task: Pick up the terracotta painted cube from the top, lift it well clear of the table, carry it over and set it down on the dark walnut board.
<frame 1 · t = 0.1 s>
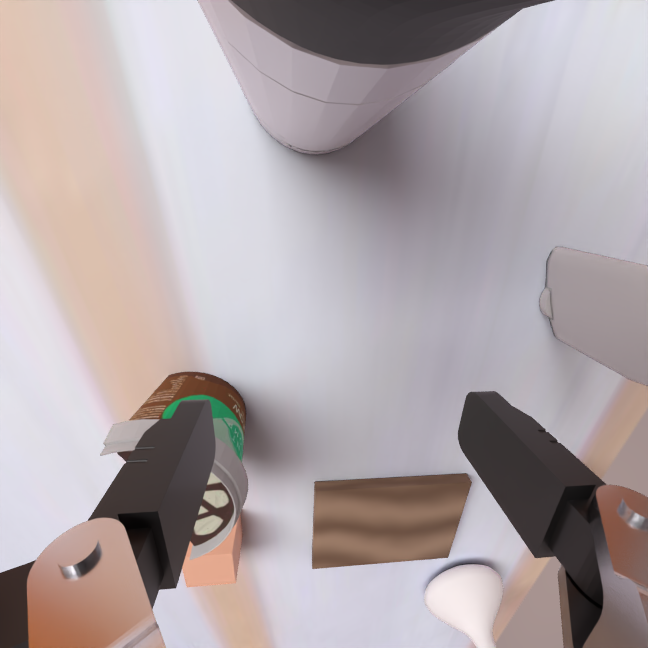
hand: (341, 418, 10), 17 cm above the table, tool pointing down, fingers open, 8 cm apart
walnut board: (385, 518, 39), on the table
terracotta cube: (219, 522, 36), on the table
flower in vase: (453, 574, 46), on the table
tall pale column: (558, 295, 29), on the table
food container: (224, 402, 30), on the table
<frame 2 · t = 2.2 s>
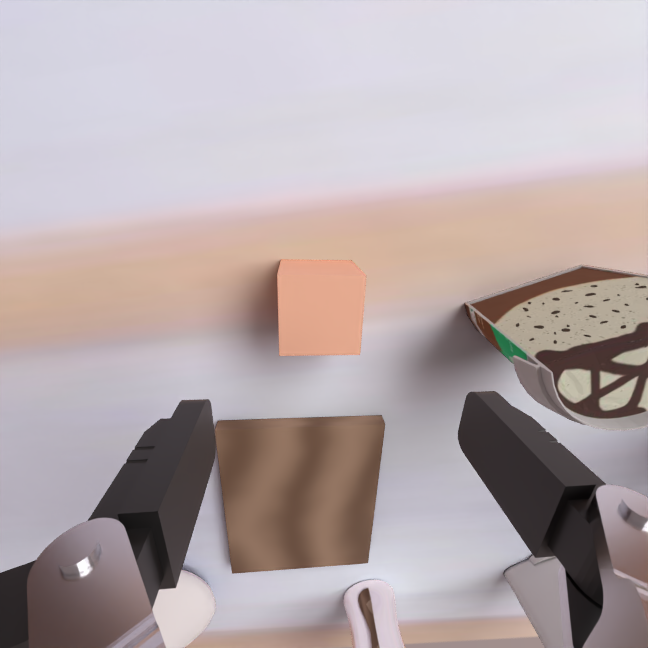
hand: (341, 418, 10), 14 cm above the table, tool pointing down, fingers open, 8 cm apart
walnut board: (301, 494, 30), on the table
terracotta cube: (315, 293, 23), on the table
flower in vase: (169, 581, 33), on the table
beer glass: (368, 593, 37), on the table
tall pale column: (541, 558, 38), on the table
food container: (523, 318, 25), on the table
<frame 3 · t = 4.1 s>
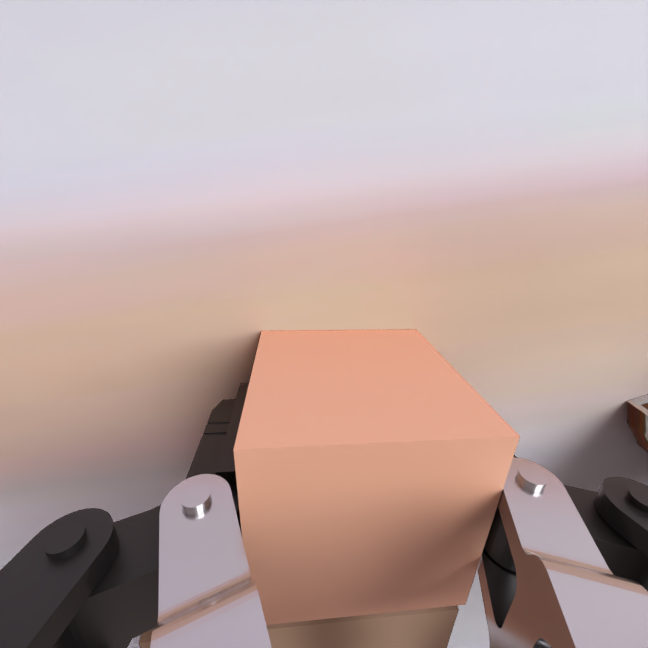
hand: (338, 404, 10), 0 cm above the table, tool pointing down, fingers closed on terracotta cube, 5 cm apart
terracotta cube: (337, 396, 11), on the table, touching gripper
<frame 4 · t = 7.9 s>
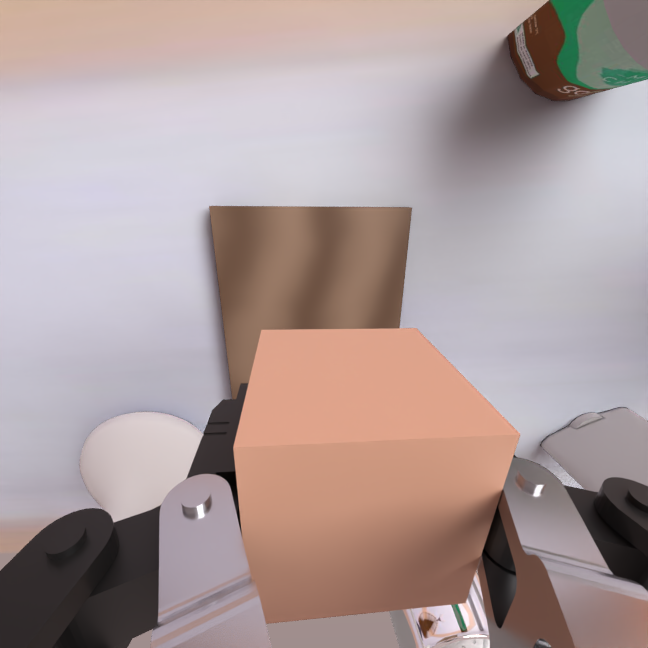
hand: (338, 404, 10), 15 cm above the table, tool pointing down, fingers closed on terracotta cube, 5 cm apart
walnut board: (313, 322, 26), on the table
terracotta cube: (337, 395, 11), point 15 cm above the table, touching gripper
flower in vase: (165, 444, 29), on the table
beer glass: (388, 468, 33), on the table
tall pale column: (582, 426, 33), on the table
food container: (576, 66, 21), on the table
when the fingers open (3 cm above the table, at t = 11.4 s): terracotta cube drops 1 cm, resting on walnut board.
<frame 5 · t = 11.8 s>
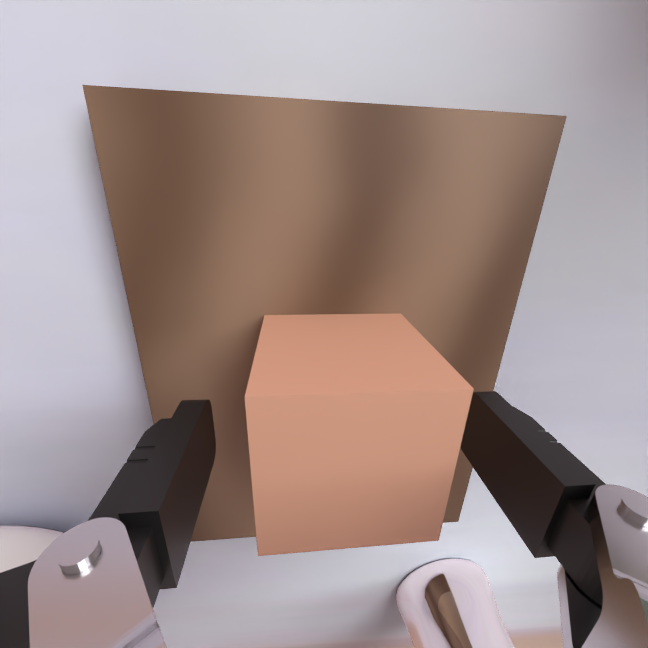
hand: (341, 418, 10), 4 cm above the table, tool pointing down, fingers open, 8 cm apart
walnut board: (328, 359, 13), on the table
terracotta cube: (331, 374, 12), point 1 cm above the table, touching walnut board
flower in vase: (58, 563, 16), on the table
beer glass: (439, 584, 20), on the table
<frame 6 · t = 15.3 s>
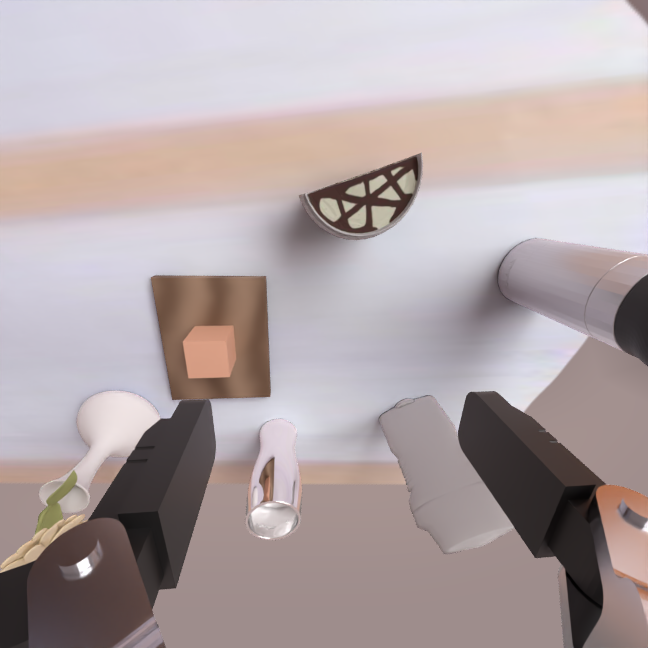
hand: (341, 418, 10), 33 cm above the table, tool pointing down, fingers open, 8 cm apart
walnut board: (218, 339, 44), on the table
terracotta cube: (216, 342, 42), point 1 cm above the table, touching walnut board
flower in vase: (130, 412, 47), on the table
beer glass: (278, 432, 51), on the table
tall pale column: (405, 408, 51), on the table
food container: (352, 205, 39), on the table
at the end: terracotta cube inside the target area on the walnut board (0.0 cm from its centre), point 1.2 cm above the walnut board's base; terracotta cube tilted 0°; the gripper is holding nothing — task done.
